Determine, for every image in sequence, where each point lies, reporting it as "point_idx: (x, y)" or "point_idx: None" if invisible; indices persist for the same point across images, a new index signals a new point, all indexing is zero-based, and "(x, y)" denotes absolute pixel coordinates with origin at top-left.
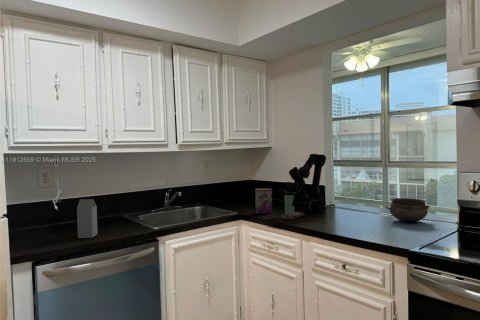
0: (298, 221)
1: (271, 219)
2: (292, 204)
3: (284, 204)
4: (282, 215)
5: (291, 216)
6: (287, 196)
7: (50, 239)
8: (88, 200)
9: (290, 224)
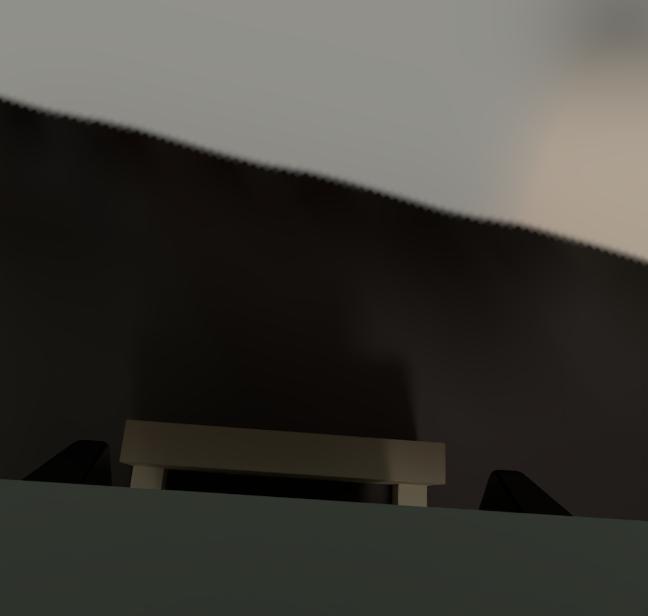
0: (9, 430)
1: (544, 313)
2: (69, 456)
3: (492, 500)
4: (416, 443)
5: (164, 422)
6: (471, 512)
7: None
8: None
9: (64, 149)
